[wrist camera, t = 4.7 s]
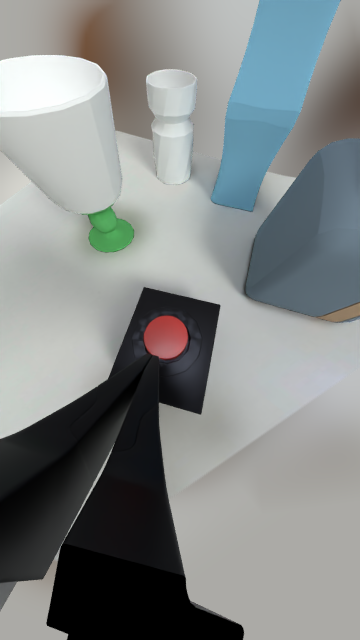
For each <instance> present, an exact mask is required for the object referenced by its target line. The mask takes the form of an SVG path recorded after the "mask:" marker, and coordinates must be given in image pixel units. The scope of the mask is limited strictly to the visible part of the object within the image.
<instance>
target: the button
mask: <svg viewBox="0 0 360 640" xmlns="http://www.w3.org/2000/svg"><path fill="white" fill-rule="evenodd" d="M187 341H188V333H187V329H186V327H185V325H184V324H183V323H182V322H181V321H180V320H179V319H177V318H175V317H173V316H160V317H158V318H155V319H154V320H152V321H151V322H150V323H149V324H148V326H147V328H146V330H145V333H144V344H145V347H146V349H147V350H148V351H149V353H150V354H152V355H156V356H159V359H163V360H170V359H174V358H176V357H178V356H179V355H180V354H181V353H182V352H183V351H184V349H185V347H186V345H187Z"/></svg>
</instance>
